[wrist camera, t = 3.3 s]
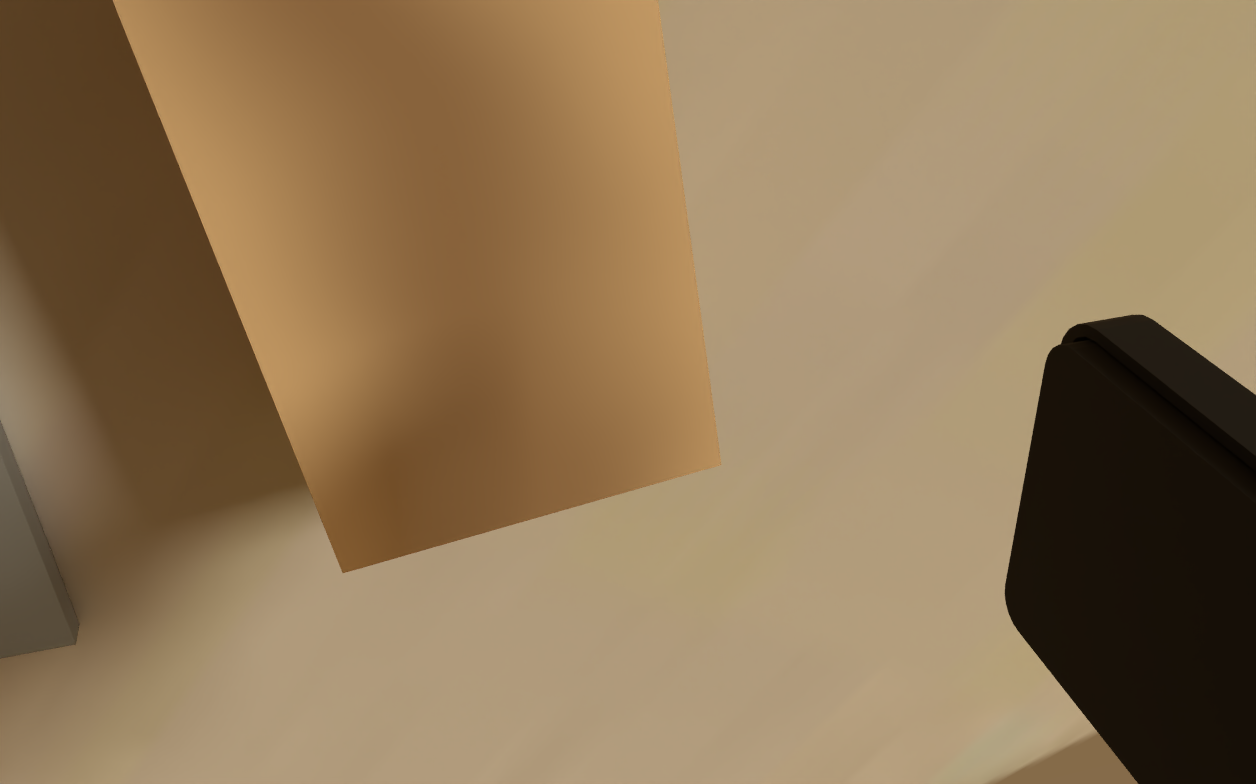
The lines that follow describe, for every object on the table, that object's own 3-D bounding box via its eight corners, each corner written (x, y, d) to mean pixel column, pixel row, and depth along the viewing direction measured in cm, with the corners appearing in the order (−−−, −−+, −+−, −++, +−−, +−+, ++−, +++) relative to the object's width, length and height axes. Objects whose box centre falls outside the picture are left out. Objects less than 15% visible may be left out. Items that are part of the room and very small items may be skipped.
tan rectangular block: (526, -356, 15) (610, -346, 11) (640, 314, 21) (721, 464, 17) (83, -271, 14) (21, -230, 11) (328, 398, 20) (342, 572, 16)
